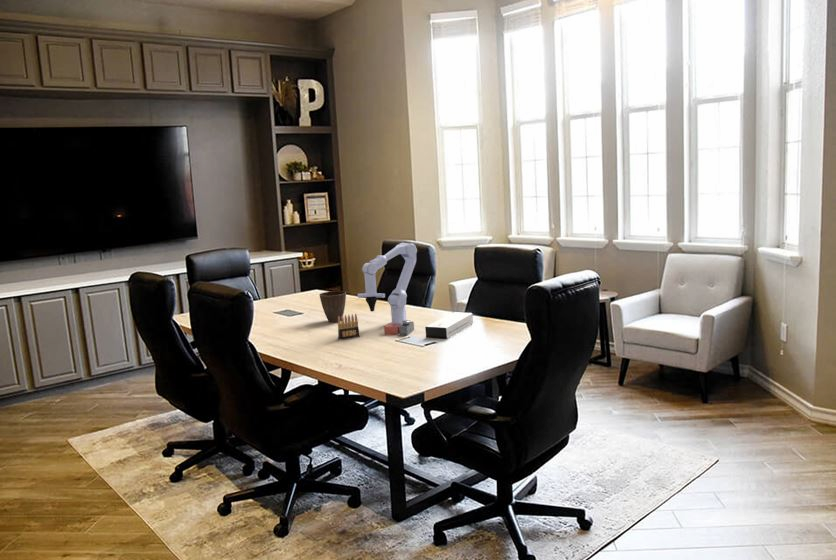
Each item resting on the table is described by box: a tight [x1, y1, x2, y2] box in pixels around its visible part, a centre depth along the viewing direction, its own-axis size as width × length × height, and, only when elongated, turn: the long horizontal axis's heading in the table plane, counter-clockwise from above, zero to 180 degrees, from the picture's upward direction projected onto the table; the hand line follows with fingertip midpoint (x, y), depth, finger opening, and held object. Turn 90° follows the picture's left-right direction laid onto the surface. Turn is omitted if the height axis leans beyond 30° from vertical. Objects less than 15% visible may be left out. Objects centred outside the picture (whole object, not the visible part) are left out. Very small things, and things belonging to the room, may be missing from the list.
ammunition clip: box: [337, 313, 361, 340], centre depth 343 cm, size 11×2×12 cm, turn 112°
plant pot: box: [319, 290, 347, 323], centre depth 384 cm, size 15×15×16 cm
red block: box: [383, 322, 402, 336], centre depth 350 cm, size 8×7×4 cm
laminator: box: [424, 311, 474, 340], centre depth 347 cm, size 34×12×6 cm, turn 154°
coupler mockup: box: [398, 319, 415, 337], centre depth 349 cm, size 12×11×6 cm
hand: (372, 311), depth 360 cm, fingers closed
